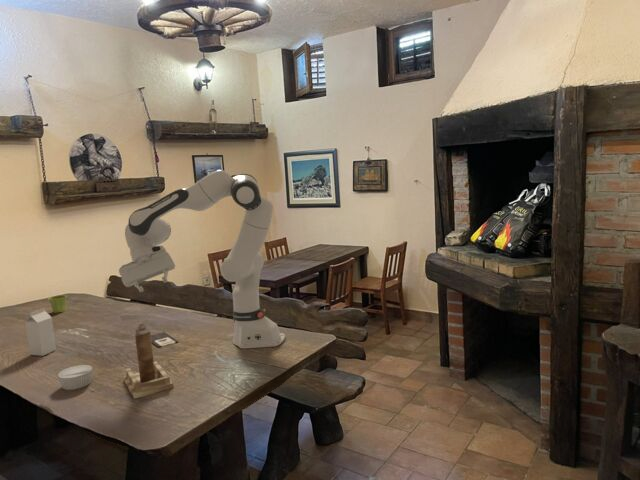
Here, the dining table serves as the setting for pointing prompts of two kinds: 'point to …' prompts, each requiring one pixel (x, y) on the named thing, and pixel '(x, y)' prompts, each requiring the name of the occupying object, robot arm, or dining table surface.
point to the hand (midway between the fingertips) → (153, 286)
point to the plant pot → (58, 303)
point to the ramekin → (75, 377)
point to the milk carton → (40, 333)
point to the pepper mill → (144, 354)
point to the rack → (149, 387)
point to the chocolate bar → (162, 339)
